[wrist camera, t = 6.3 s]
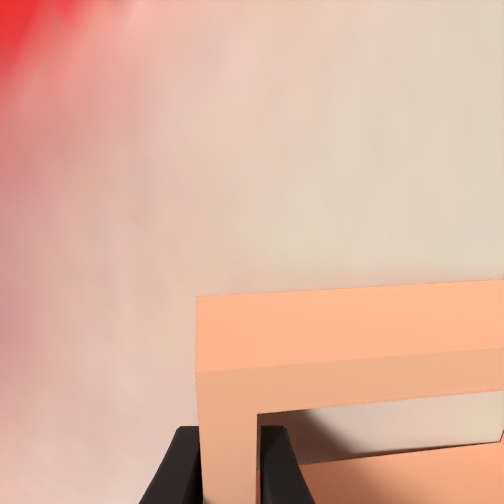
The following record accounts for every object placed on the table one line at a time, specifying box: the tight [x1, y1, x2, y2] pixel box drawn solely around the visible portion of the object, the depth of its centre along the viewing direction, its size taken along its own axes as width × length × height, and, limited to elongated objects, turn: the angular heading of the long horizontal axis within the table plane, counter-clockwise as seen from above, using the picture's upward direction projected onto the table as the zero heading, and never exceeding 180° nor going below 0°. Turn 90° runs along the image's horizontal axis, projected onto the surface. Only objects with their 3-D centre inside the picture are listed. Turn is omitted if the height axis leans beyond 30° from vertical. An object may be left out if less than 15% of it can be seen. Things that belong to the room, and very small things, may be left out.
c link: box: [196, 279, 504, 504], centre depth 11 cm, size 12×8×3 cm, turn 90°
